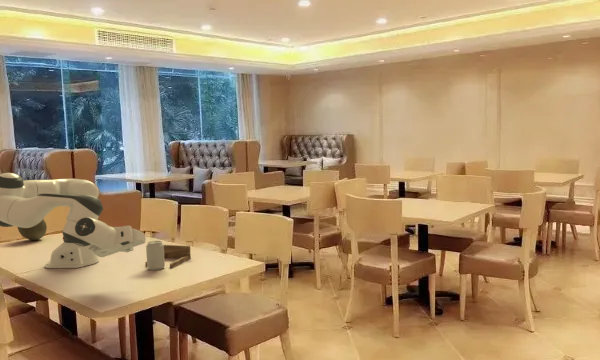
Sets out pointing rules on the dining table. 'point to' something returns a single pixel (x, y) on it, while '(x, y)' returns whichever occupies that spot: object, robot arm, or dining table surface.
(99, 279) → the dining table surface
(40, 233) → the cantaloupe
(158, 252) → the can
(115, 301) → the dining table surface
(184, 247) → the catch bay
